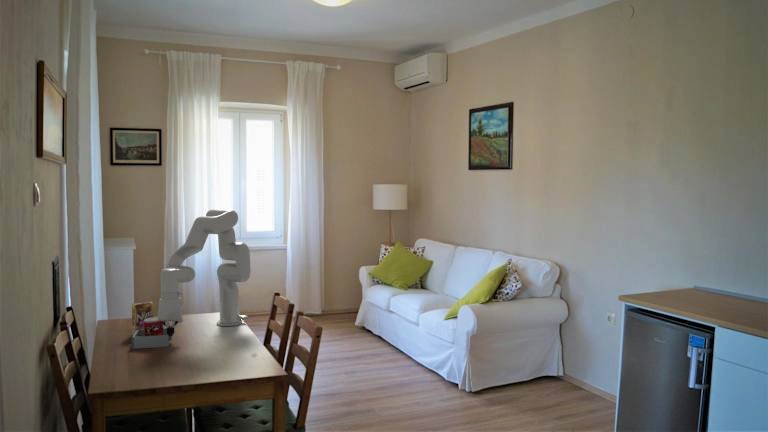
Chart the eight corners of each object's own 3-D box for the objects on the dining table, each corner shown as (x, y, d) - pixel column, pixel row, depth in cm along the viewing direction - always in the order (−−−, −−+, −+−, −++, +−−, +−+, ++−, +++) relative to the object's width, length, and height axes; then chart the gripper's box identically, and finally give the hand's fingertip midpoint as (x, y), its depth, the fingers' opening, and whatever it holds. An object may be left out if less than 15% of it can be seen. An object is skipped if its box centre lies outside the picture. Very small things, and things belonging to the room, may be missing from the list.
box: (171, 338, 274) (171, 327, 274) (168, 346, 260) (168, 335, 260) (137, 340, 271) (137, 329, 270) (131, 348, 256) (131, 337, 256)
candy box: (135, 337, 276) (134, 304, 276) (131, 335, 279) (130, 303, 279) (154, 333, 282) (153, 302, 282) (150, 332, 286) (149, 300, 285)
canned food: (141, 345, 262) (140, 321, 261) (152, 340, 270) (150, 316, 269) (156, 345, 260) (155, 321, 260) (167, 340, 268) (165, 317, 267)
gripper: (187, 293, 271) (188, 332, 272) (153, 295, 268) (154, 334, 269) (186, 296, 264) (187, 336, 265) (151, 298, 261) (152, 338, 262)
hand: (170, 335), depth 267 cm, fingers closed
